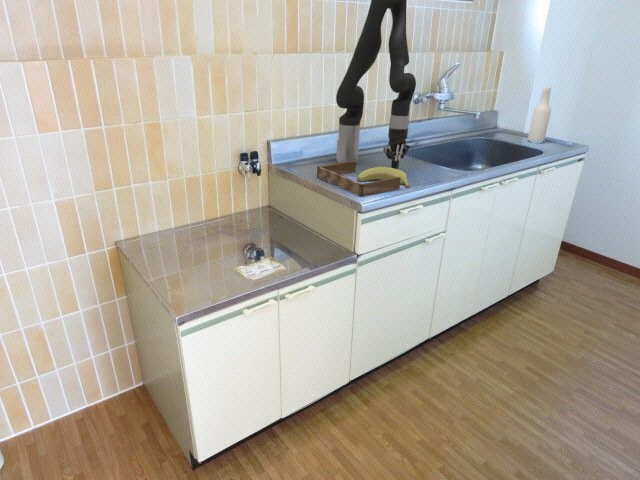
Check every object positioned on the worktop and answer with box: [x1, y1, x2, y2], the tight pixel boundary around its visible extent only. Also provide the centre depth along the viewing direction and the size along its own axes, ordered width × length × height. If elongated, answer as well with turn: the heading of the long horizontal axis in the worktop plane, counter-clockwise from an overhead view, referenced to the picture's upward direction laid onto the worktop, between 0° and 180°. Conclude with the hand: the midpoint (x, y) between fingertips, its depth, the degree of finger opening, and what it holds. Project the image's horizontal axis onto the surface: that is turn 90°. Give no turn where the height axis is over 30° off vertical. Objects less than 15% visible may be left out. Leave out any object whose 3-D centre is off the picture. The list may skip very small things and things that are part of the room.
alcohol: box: [527, 86, 552, 141], centre depth 255 cm, size 9×9×30 cm
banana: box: [356, 166, 411, 189], centre depth 179 cm, size 14×6×20 cm
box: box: [316, 161, 401, 197], centre depth 178 cm, size 28×19×4 cm
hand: (394, 169), depth 188 cm, fingers closed
